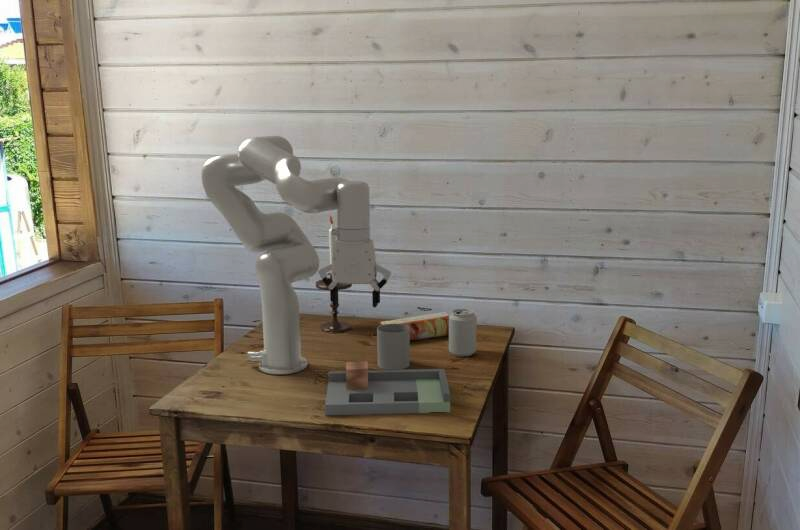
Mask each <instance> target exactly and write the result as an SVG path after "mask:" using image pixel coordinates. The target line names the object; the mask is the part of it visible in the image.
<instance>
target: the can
mask: <svg viewBox="0 0 800 530" xmlns="http://www.w3.org/2000/svg"><path fill="white" fill-rule="evenodd" d="M449 315H450V316H449V336H448V352H450V353H451V355H453V356H456V357H460V358H461V357H463V358H464V356H466V357H470V356H473V355H474V354H475V353H476V352H477V322H478V321H477V316H476V314H475V311H474V310H473V309H470V308H455V309H453V310H451V314H449ZM472 354H473V355H472Z"/></svg>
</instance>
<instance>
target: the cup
mask: <svg viewBox="0 0 800 530" xmlns="http://www.w3.org/2000/svg"><path fill="white" fill-rule="evenodd" d="M376 341H377V342H376V343H377V344H376V345H377V350H376V351H377V366H378V368H380V369H381V370H406V369H407V368H409V367H410V364H411V355H410V354H411V353H410V352H411V350H410V347H411V346H410V342H411V341H410V337H409V327H408V326H406V325H403V324H385V325H381V326H379V325H378V327H377V328H376Z"/></svg>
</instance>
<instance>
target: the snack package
mask: <svg viewBox="0 0 800 530" xmlns="http://www.w3.org/2000/svg"><path fill="white" fill-rule="evenodd" d="M450 315H451V314H449V313H448V312H447V311H440V312H436V313H429V314H424V315H416V316H410V317H403V318H397V319H393V320H392V319H391V320H384V321H380V322H379V323H378V327H379V326H381V325H385V324H403V325H406V326H408V327H409V337H410V342H411V341H417V340H418V341H419V340H425V339H432V338H439V337H446V336H448V337H449V316H450Z"/></svg>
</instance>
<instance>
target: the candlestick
mask: <svg viewBox="0 0 800 530" xmlns="http://www.w3.org/2000/svg"><path fill="white" fill-rule="evenodd" d="M329 222H330V228H329V229H328V237H329V265H330V264H332V256H333V247H334V241H335V240H337V236H335V235H332V229H335V228H334V225H333V224H334V220H333V216H331V215H329ZM326 274H327V276H329V278H330V279H331V280H332V270H330V271H329V272H327V273H326ZM332 281H333V280H332ZM352 286H353V284H344V283H338V284H337V288H338V291H340V290H341V291H342V290H343V291H344V290H346V289H350V288H352ZM315 288H316V289H319V290H323V291H330V289H329V288H328V286H327V285H326V284H325V283H324V282H323V280H322V279H319V280H317V281H316V282H315ZM329 306H330V308H331V311H330V314H331V315H332V320H331V321H327V322H324V323H322V324H320V326H319V328H320V329H321V330H322V331H321V330H320V329H319V330H320V331H321V332H323V331H325V332H324V333H326V332H333V333H332V334H335V333H334V332H342V333H345V332H344V331H346V332H348V331H350V330H351V324H350V323H349V322H346V321H339V320H338V314H339V313H340V312H339V310H338V308H339V307H340V304H339V302H338V304H337V305H336V306H333V302H330V303H329ZM349 329H350V330H349ZM347 330H348V331H347Z"/></svg>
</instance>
